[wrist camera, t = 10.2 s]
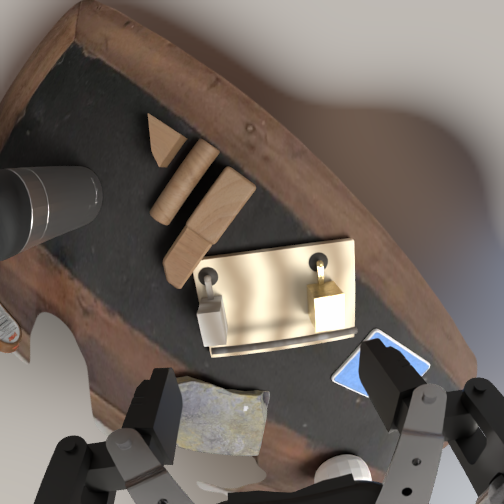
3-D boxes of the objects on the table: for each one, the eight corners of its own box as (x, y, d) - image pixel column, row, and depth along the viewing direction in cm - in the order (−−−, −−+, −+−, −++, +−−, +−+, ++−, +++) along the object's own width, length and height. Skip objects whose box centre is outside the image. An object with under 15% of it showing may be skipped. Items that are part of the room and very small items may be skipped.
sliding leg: (308, 315, 43) (315, 332, 38) (304, 261, 41) (312, 272, 36) (334, 311, 43) (344, 327, 38) (332, 257, 41) (343, 268, 36)
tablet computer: (429, 362, 50) (432, 365, 49) (389, 405, 53) (391, 409, 52) (373, 324, 47) (376, 328, 46) (327, 376, 49) (329, 381, 48)
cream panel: (212, 352, 46) (208, 378, 40) (192, 258, 42) (184, 274, 36) (351, 332, 46) (365, 354, 40) (350, 237, 42) (368, 249, 36)
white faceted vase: (316, 452, 55) (327, 497, 42) (369, 444, 56) (386, 485, 43) (307, 479, 58) (315, 519, 45) (355, 472, 59) (367, 509, 46)
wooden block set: (262, 181, 35) (179, 295, 38) (259, 180, 40) (186, 280, 44) (150, 104, 32) (79, 222, 35) (162, 112, 37) (97, 216, 41)
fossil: (272, 375, 50) (173, 368, 47) (276, 392, 45) (169, 385, 43) (256, 440, 55) (176, 436, 53) (258, 456, 51) (174, 452, 49)
